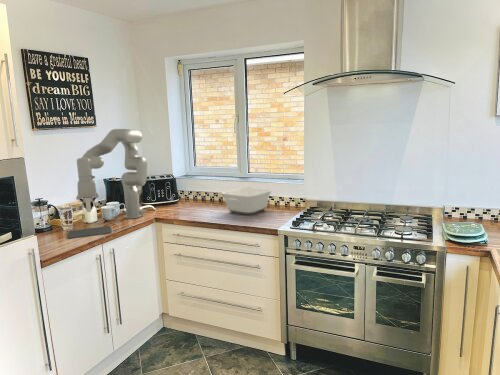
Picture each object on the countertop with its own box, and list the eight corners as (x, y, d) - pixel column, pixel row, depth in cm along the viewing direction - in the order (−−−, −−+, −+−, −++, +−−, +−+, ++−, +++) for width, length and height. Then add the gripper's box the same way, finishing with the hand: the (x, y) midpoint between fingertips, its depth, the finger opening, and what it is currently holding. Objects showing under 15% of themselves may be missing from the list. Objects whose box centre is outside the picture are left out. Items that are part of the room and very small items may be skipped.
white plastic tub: (248, 219, 245) (248, 197, 242) (216, 214, 262) (215, 193, 259) (277, 209, 272) (276, 189, 269) (246, 204, 289) (245, 186, 286)
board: (91, 211, 222) (89, 198, 220) (86, 212, 221) (85, 199, 219) (91, 208, 231) (90, 195, 230) (87, 208, 230) (85, 196, 229)
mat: (110, 226, 240) (110, 225, 239) (111, 233, 225) (111, 232, 225) (69, 231, 231) (69, 231, 231) (67, 239, 216) (67, 238, 216)
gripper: (100, 176, 229) (103, 205, 232) (71, 179, 223) (74, 209, 226) (100, 178, 222) (103, 208, 225) (70, 180, 216) (74, 211, 219)
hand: (88, 208), depth 226 cm, fingers closed on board, 2 cm apart
